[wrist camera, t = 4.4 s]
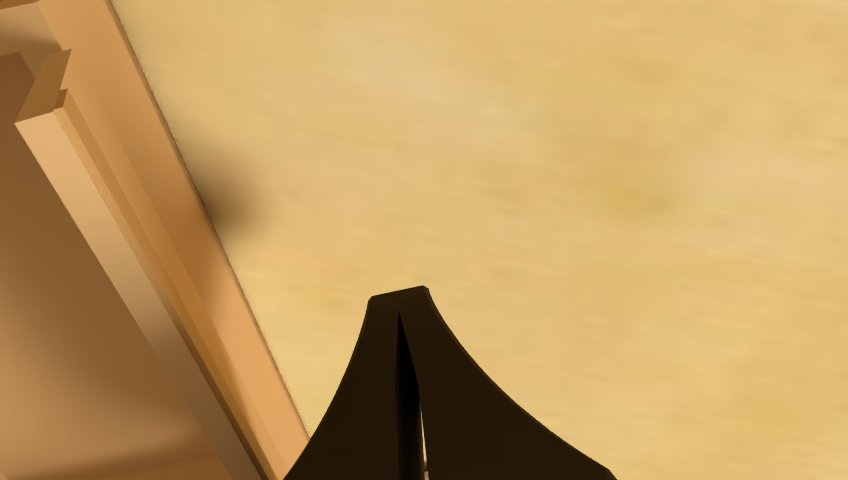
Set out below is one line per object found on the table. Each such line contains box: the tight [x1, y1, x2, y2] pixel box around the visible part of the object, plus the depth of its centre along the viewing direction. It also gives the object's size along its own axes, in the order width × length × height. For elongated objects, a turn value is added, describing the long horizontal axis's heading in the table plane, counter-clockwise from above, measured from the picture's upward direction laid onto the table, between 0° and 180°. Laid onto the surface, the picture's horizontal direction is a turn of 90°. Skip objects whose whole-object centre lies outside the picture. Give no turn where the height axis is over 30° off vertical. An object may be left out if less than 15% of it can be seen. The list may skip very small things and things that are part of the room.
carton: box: [0, 0, 310, 480], centre depth 15 cm, size 16×11×3 cm
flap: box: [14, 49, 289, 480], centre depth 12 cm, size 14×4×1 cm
